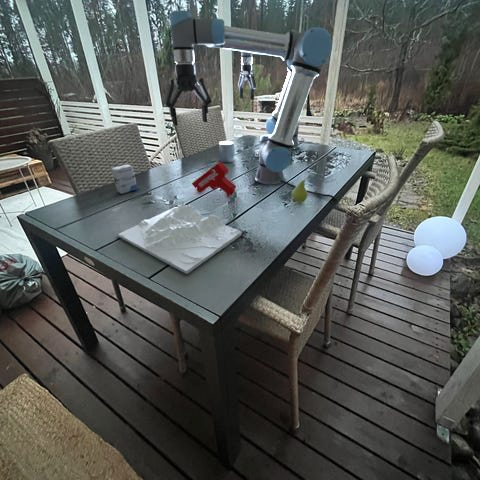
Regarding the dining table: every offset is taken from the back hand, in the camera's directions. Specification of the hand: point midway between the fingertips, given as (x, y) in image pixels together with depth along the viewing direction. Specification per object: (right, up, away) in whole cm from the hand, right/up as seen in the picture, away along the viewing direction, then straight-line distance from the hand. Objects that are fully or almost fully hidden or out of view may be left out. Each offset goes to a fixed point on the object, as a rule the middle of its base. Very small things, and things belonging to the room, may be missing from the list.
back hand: (246, 98), depth 200 cm
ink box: (-61, -80, -66) cm, 120 cm away
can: (-13, -53, -24) cm, 60 cm away
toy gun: (-17, -82, -70) cm, 109 cm away
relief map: (-26, -103, -103) cm, 148 cm away
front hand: (-26, -55, -85) cm, 105 cm away
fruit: (+22, -88, -79) cm, 120 cm away
